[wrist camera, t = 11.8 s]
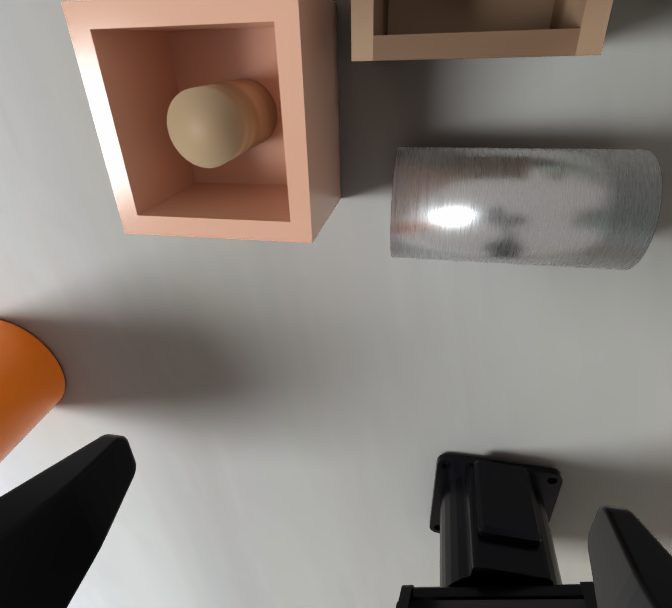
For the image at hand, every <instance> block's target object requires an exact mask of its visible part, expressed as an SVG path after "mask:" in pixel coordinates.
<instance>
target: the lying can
mask: <svg viewBox="0 0 672 608" xmlns="http://www.w3.org/2000/svg"><path fill="white" fill-rule="evenodd" d="M661 199H662V177H661V170H660V166H659V163H658V160H657V158H656V156H655V155H654V154H653V153H652V152H651V151H649V150H646V149H548V148H450V147H398V149H397V154H396V160H395V168H394V177H393V189H392V204H391V228H390V246H391V256H392V257H400V258H418V259H436V260H454V261H472V262H490V263H509V264H527V265H545V266H563V267H581V268H599V269H617V270H627V269H630V268H632V267H633V266H635V265H636V264H637V263H638V262H639V261H640V259H641V258H642V257H643V255H644V254H645V252H646V250H647V248H648V247H649V244H650V242H651V240H652V237H653V235H654V232H655V229H656V226H657V222H658V218H659V213H660V207H661Z"/></svg>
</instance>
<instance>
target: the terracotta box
mask: <svg viewBox="0 0 672 608" xmlns="http://www.w3.org/2000/svg"><path fill="white" fill-rule="evenodd" d="M61 4H62V7H63V11H64V15H65V18H66V22H67V25H68V29H69V33H70V36H71V40H72V44H73V47H74V51H75V54H76V58H77V62H78V65H79V69H80V73H81V76H82V80H83V83H84V87H85V91H86V94H87V98H88V102H89V105H90V109H91V112H92V116H93V120H94V123H95V127H96V131H97V134H98V138H99V141H100V145H101V149H102V152H103V156H104V160H105V163H106V167H107V170H108V174H109V178H110V181H111V185H112V189H113V192H114V196H115V199H116V203H117V207H118V210H119V214H120V218H121V221H122V225H123V228H124V232H125V233H127V234H147V235H166V236H186V237H205V238H225V239H244V240H264V241H284V242H303V243H313V241H314V239H315V238H316V236H317V235H318V233H319V232H320V230H321V229H322V227H323V225H324V224H325V222H326V221H327V219H328V218H329V216H330V214H331V213H332V211H333V210H334V208H335V207H336V205H337V204H338V202H339V200H340V199H341V196H340V153H339V110H338V67H337V25H336V2H334V1H331V0H80V1H63V2H61ZM237 79H251V80H254V81H257V82H259V83H260V84H262V85H263V86H264V87H265V88H266V89H267V90H268V91H269V92H270V94H271V95H272V97H273V99H274V101H275V104H276V108H277V123H276V127H275V129H274V131H273V133H272V135H271V136H270V137H269V138H268V139H267V140H265V141H264V142H262V143H260V144H258V145H257V146H255V147H253V148H251V149H249V150H248V151H246V152H244V153H242V154H241V155H239V156H237V157H235V158H233V159H232V160H230V161H228V162H226V163H225V164H223V165H221V166H218V167H214V168H204V167H199V166H197V165H194V164H192V163H191V162H189V161H188V160H186V159H185V158H184V157H183V156H182V155H181V154H180V153H179V152H178V151H177V149H176V148H175V146H174V145H173V143H172V141H171V138H170V136H169V132H168V128H167V113H168V109H169V106H170V104H171V102H172V100H173V99H174V98H175V96H176V95H178V94H179V93H180V92H182V91H184V90H186V89H189V88H194V87H199V86H205V85H210V84H216V83H221V82H226V81H232V80H237Z"/></svg>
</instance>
